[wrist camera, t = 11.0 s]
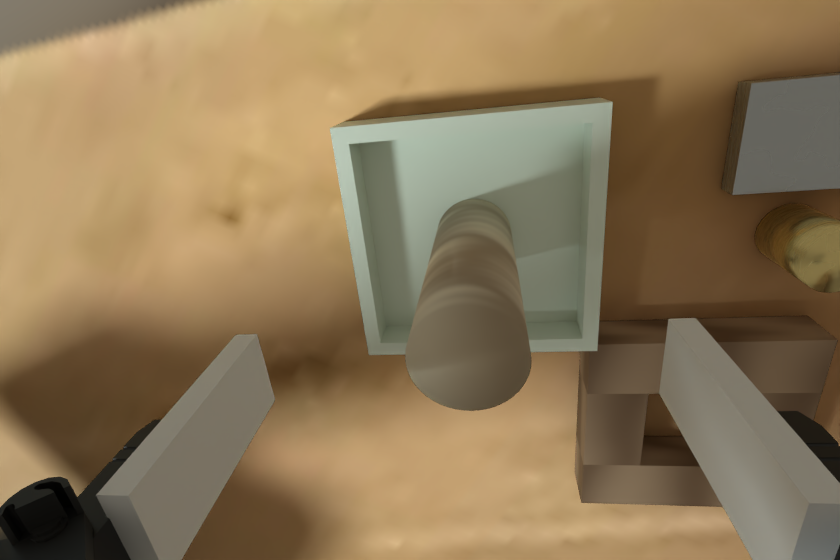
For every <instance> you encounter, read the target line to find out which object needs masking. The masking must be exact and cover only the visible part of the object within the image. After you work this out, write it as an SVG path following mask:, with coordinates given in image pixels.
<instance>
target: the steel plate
mask: <svg viewBox="0 0 840 560" xmlns="http://www.w3.org/2000/svg"><path fill="white" fill-rule="evenodd" d="M836 188H840V72H837V73H827V74H817V75H806V76H796V77H785V78H775V79H764V80H754V81H743V82H738V88H737V94H736V100H735V106H734V112H733V119H732V125H731V131H730V137H729V143H728V150H727V156H726V162H725V168H724V174H723V180H722V187H721V189H722V190H724V191H726V192H728V193H730V194H731V195H740V194H756V193H772V192H788V191H804V190H820V189H836Z"/></svg>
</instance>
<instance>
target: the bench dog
mask: <svg viewBox="0 0 840 560" xmlns="http://www.w3.org/2000/svg"><path fill="white" fill-rule="evenodd" d="M755 244H756V246H757V248H758V250H759V251H760V252H761V253H762V254H764V255H765V256H766V257H768V258H769V259H771V260H772V261H773V262H775V263H776V264H778V265H779V266H781V267H782V268H783V269H785V270H786V271H788V272H789V273H790V274H792V275H793V276H795V277H796V278H798V279H799V280H800V281H802V282H803V283H805V284H806V285H807V286H809V287H810V288H812V289H814V290H816V291H820V292H829V293H831V292H839V291H840V220H838V219H835V218H833V217H831V216H829V215H827V214H825V213H822V212H820V211H818V210H816V209H814V208H812V207H809V206H807V205H804V204H787V205H783V206H780V207H778V208H776V209H774V210H773V211H771V212H770V213H768V214H767V215H766V216H765V217H764V218H763V219H762V220H761V222H760V223H759V225H758V227H757V229H756V232H755Z"/></svg>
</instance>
